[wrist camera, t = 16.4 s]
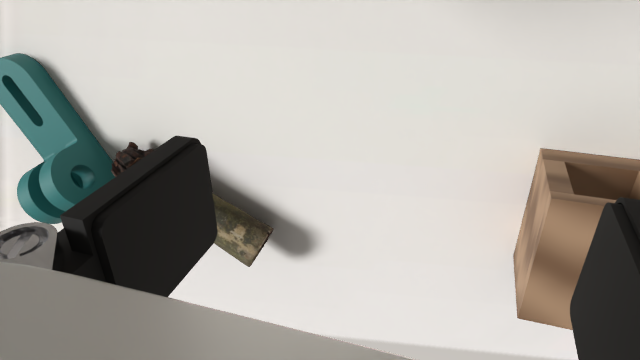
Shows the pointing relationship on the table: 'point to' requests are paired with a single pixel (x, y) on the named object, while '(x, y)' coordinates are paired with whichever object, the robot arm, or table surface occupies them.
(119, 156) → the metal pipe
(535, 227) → the walnut block
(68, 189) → the bracket
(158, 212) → the robot arm
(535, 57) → the table surface
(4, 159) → the table surface
